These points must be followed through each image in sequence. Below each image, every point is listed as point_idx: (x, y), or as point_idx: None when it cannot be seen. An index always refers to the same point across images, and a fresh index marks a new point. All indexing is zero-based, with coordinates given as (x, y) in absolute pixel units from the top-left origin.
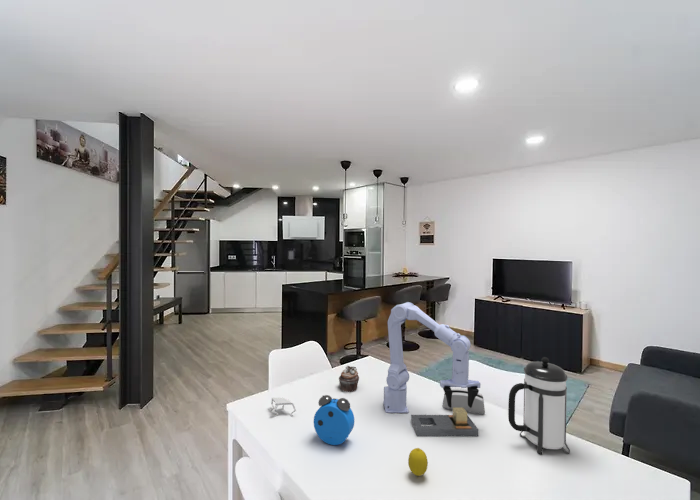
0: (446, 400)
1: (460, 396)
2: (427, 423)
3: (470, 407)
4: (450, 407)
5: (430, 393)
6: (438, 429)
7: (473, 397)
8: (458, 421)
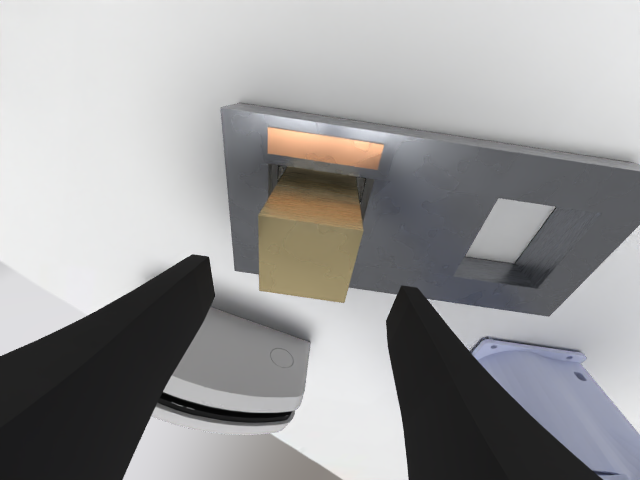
0: (298, 370)
1: (225, 382)
2: (468, 260)
3: (202, 256)
4: (408, 286)
5: (311, 404)
6: (525, 153)
7: (67, 344)
8: (342, 194)
